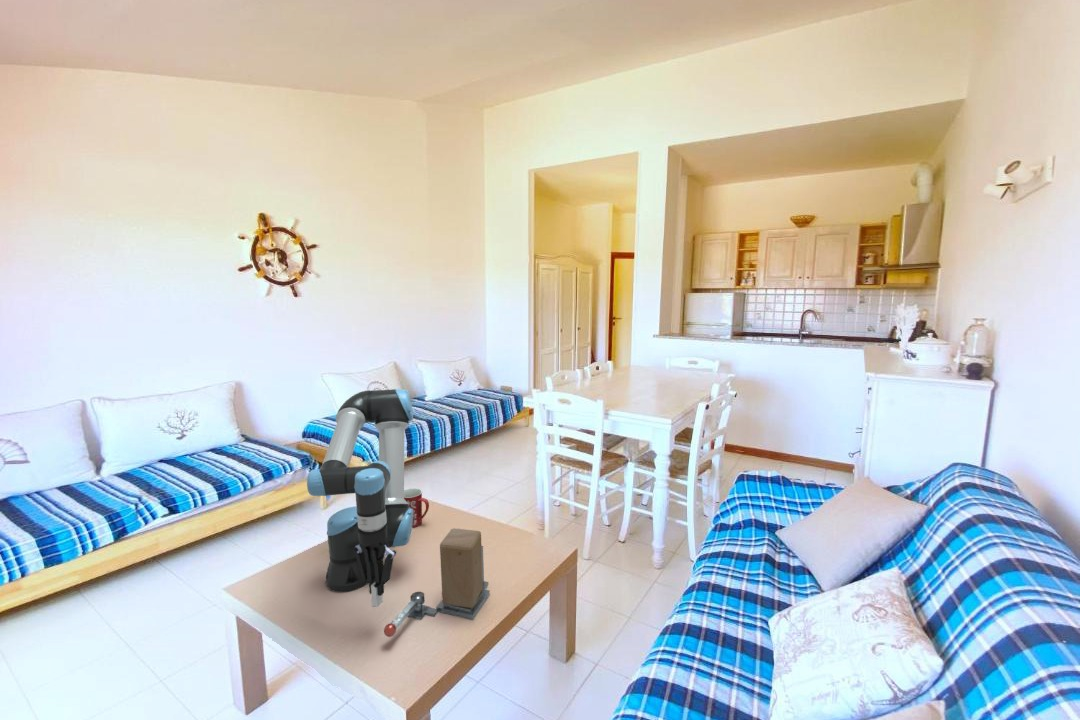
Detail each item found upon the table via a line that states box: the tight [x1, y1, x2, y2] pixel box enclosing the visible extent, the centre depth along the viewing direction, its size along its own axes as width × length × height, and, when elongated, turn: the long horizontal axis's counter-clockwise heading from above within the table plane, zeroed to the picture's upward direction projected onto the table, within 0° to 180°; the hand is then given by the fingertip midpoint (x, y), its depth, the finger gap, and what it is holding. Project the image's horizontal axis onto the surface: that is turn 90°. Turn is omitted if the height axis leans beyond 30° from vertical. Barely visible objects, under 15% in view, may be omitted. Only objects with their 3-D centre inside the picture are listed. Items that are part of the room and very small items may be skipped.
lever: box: [383, 591, 425, 638], centre depth 136 cm, size 4×17×3 cm, turn 162°
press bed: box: [407, 545, 491, 621], centre depth 147 cm, size 20×21×14 cm
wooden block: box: [439, 527, 483, 608], centre depth 145 cm, size 10×10×20 cm
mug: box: [404, 487, 430, 528], centre depth 194 cm, size 13×9×14 cm
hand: (377, 604), depth 135 cm, fingers closed
